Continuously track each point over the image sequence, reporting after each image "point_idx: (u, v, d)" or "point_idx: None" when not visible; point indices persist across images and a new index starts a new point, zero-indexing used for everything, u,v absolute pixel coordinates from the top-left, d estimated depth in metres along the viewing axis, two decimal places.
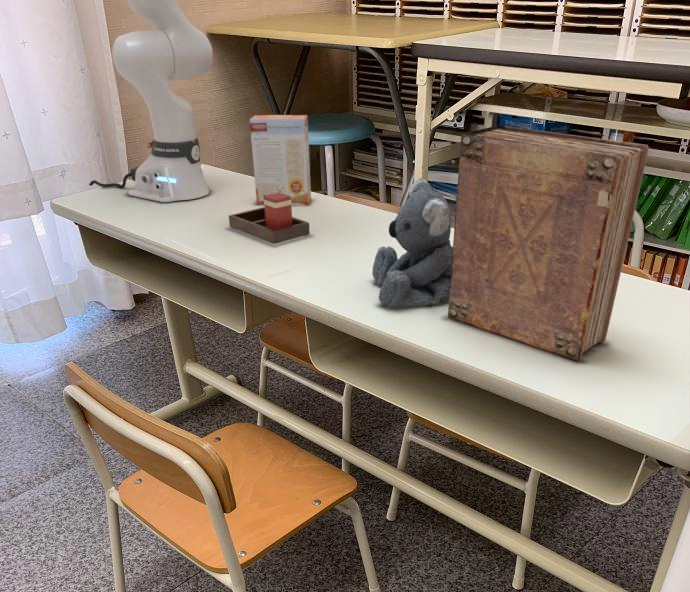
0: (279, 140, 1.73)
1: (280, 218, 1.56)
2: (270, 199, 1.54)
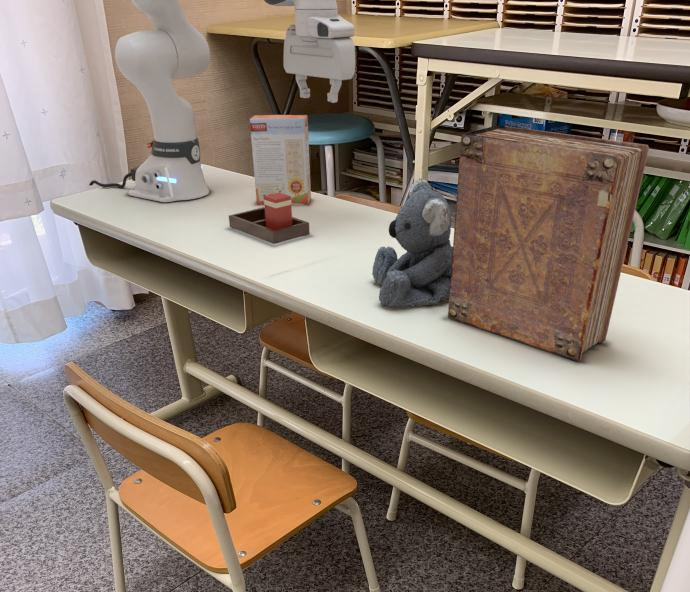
0: (279, 140, 1.73)
1: (280, 218, 1.56)
2: (270, 199, 1.54)
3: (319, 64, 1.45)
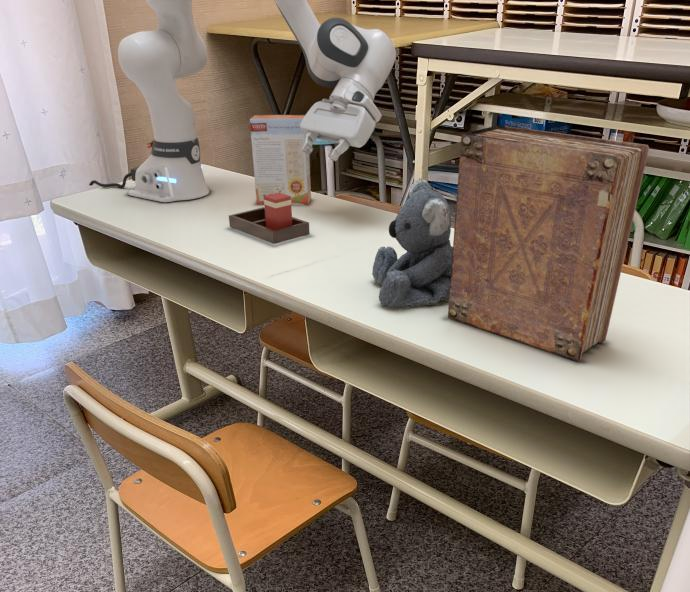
0: (279, 140, 1.73)
1: (280, 218, 1.56)
2: (270, 199, 1.54)
3: (337, 124, 1.54)
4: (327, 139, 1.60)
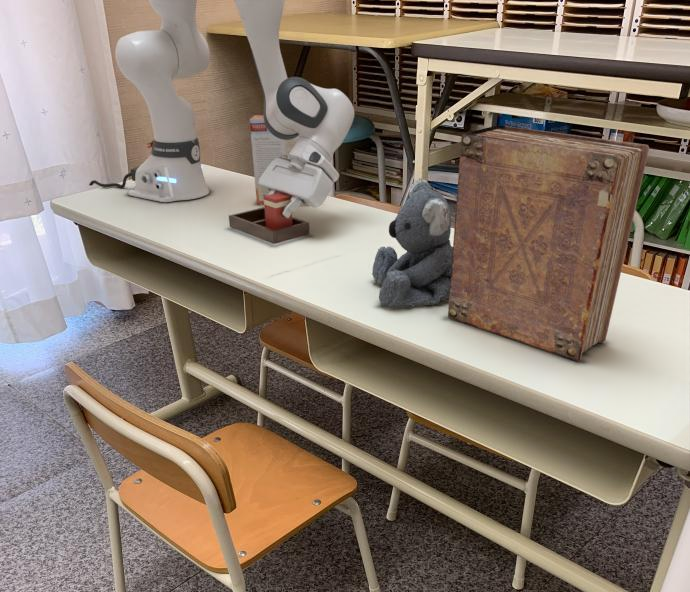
0: (279, 140, 1.73)
1: (280, 218, 1.56)
2: (270, 199, 1.54)
3: (295, 184, 1.54)
4: None
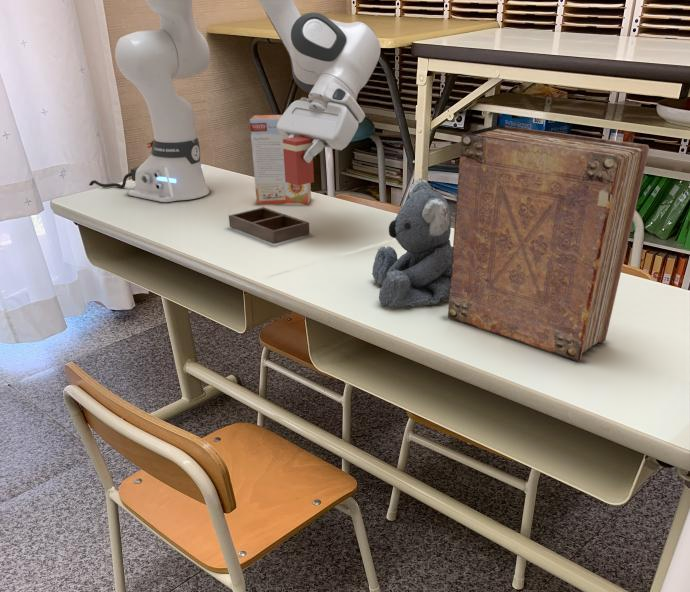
0: (279, 140, 1.73)
1: (301, 163, 1.43)
2: (290, 142, 1.42)
3: (317, 125, 1.41)
4: None
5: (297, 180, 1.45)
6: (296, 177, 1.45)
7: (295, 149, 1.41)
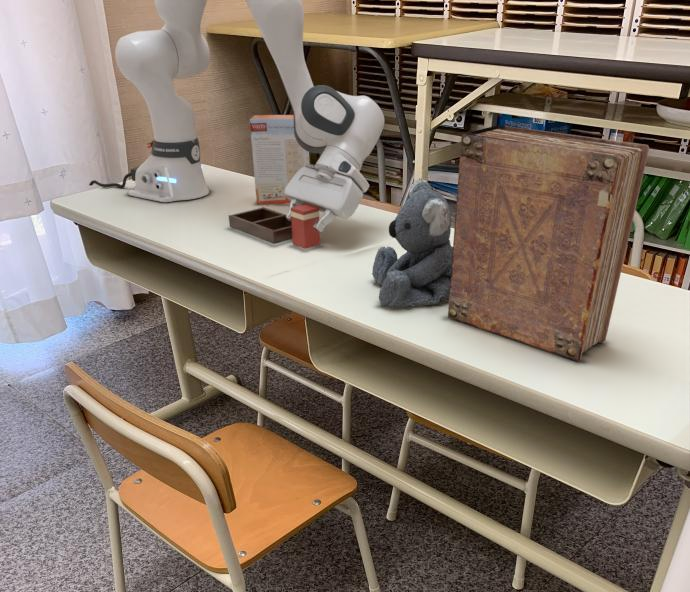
0: (279, 140, 1.73)
1: (308, 230, 1.50)
2: (298, 211, 1.48)
3: (323, 194, 1.48)
4: None
5: (304, 246, 1.51)
6: (303, 243, 1.51)
7: (303, 218, 1.48)
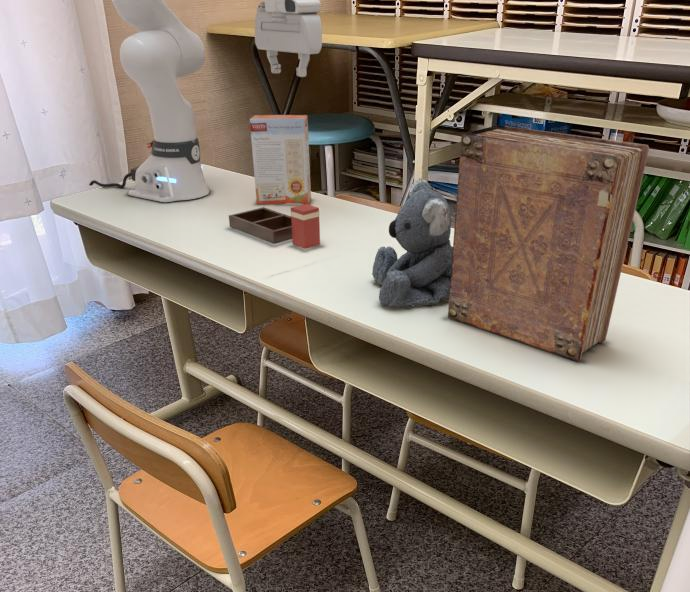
0: (279, 140, 1.73)
1: (308, 230, 1.50)
2: (298, 211, 1.48)
3: (288, 40, 1.51)
4: None
5: (304, 246, 1.51)
6: (303, 243, 1.51)
7: (303, 218, 1.48)
